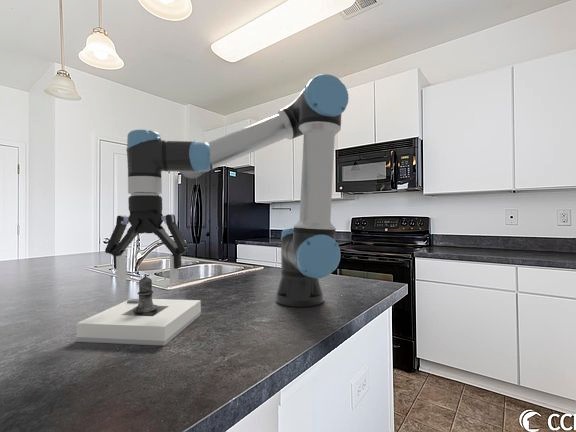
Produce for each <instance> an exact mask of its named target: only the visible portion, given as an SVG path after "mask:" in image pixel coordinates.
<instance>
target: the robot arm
mask: <svg viewBox="0 0 576 432" xmlns="http://www.w3.org/2000/svg"><path fill="white" fill-rule="evenodd" d="M348 104H349V92H348V89H347V87H346V85H345V84H344V83H343V82H342V80H341V79H339V78H338V77H336V76H334V75H332V74H329V73H321V74H317V75H316V76H313V78H311V79H310V80H309V81H307V83H306V84H305V86H304V88H303V89H302V91H301V92H300V94H299V95H298V96H297V98H295V100H293V102H291V103H290V104H288V105H287V106H285V107H284V108H281V109H279V110H278V111H277V113H276V114H275V115H273V116H271V117H267V118H265V119H263V120H260V121H258V122H256V123H253V124H251V125H248V126H245V127H243V128H241V129H237V130H236V131H233V132H231V133H228V134H226V135H223V136H220V137H219V138H216V139H214V140H211V141H209V142H205V141H204V142H203V141H197V140H193V141H191V140H190V141H187V140H186V141H183V140H182V141H180V140H179V141H178V140H164V139H162V138H161V134H160V132H157V131H155V130H147V129H133V130H131V131H129V132H128V133H127V140H126V143H127V144H126V146H127V147H126V157H127V158H126V159H127V193H128V194H130V195H129V197H128V198H127V199H128V210H129V216H127V215H117V216H116V223H115V226H114V229H113V232H112V234H111V235H110V238H109V240H108V242H107V245H106V247H105V250H104V252H105V254H109V255H111V256H112V257H113V260H112V261H113V269H115V270H116V284H121V283H124V282H127V280H128V279H127V255H126V254H125V253H124V252H125V251H126V250H127V248H128V247H129V246H130V244H131V243H132V242H133V240H134V239H135V238H136V237H137V235H139V234H154V235H155V236H157V237H158V239H159V240H160V241H161V242H162V243H163V244H164V246H165V247H166V248H167V249H168V250H169V252H170V253H171V255H169V257H168V258H169V283H170V284H175V283H176V282H178V281H179V269H181V267H182V254H184V253H186V252H188V251H189V246H188V244H187V242H186V240H185V238H184V236H183V235H182V233H181V231H180V228H179V226H178V225H177V223H176V216H175V214H166V215H164V214H163V197H162V196H160V195H161V194H162V193H163V189H162V188H163V187H162V173H163V172H179V173H180V175H182V177H184V178H187V179H196V178H200V177H201V176H202V175H203V174H205V173H207V172H209V171H211V170H214V169H216V168H218V167H221V166H223V165H225V164H228V163H230V162H233V161H235V160H237V159H239V158H242V157H244V156H246V155H249V154H251V153H254V152H256V151H259V150H261V149H263V148H265V147H268V146H270V145H273V144H275V143H277V142H280V141H283V140H284V139H287V140H290V141H291V140H294V139H295V138H298V137H301V136H303V142H302V145H303V146H302V160H301V161H302V162H301V163H302V164H301V165H302V166H301V184H300V200H299V204H300V206H299V220H298V221H297V222H296V223H295V224H294V225H293V227H289V228H285V229H282V231H281V236H280V245H281V250H280V251H281V252H280V254H281V255H280V256H281V257H280V260H281V261H280V263H281V264H280V265H281V266H280V267H281V271H280V272H281V273H280V275H281V276H280V278H279V282H278V286H277V288H276V289H277V290H276V292H275V301H276V303H277V304H280V305H282V306H287V307H294V308H296V307H297V308H299V307H300V308H306V307H307V308H308V307H314V306H317V305H320V304H322V303H323V302H324V292H323V289H322V286H321V283H320V280H319V279H323V278H325V277H328V276H330V275H331V274H332V273H333V272H334V271H336V269H337V268H338V266H339V264H340V261H341V255H342V254H341V248H340V246H339V243H338V242H337V241H336V227H335V226H334V224H333V223H332V222H331V220H332V219H331V216H332V195H333V177H334V176H333V174H334V158H335V157H334V156H335V155H334V154H335V137H336V135H337V134H338V133H339V132H340V131H341V127H342V126H341V125H342V114H343V113H344V112H345V110H346V108H347V106H348ZM163 222H164V224H166V227H167V228H168V231H169V232H170V234H171V236H170V235H169V234H168V233H167V231H166V229H165V228H164V226H162V224H163ZM128 224H129V225H130V226H129V228H128V229H127V231H126V228H127V225H128ZM125 231H126V233H125ZM124 233H125V235H124ZM123 235H124V236H123ZM171 237H172V238H173V239H172V238H171Z"/></svg>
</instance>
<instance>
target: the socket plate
mask: <svg viewBox="0 0 576 432" xmlns="http://www.w3.org/2000/svg"><path fill="white" fill-rule="evenodd" d="M152 302H153V304H154V305H157V306H158V309H157V312H156V314H155V315H154V316H135V315H134V312H133V311H132V309H133V308H134V307H137V306H138V303H139V298H135V297H133V298H130V299H128V300H125V301H123V302H121V303H118V304H116V305H114V306H112V307H109V308H108V309H105V310H103V311H100V312H99V313H96V314H94V315H91V316H89V317H87V318H84V319H83V320H81V321H79V322H77V323H76V342H77V343H78V342H80V343H81V342H82V343H97V344H98V343H100V344H121V345H140V346H141V345H143V346H146V345H147V346H166V345H168V343H169V342H171V341H173V339H174V338H176V336H178V335H179V334H180V333H181V332H182V331H184V330H185V329H186V328H187V327H188V326H190V325H191V324H192V323H193V322H194V321H196V320H197V318H199V317H200V316H201V314H202V309H201V308H202V306H201V305H202V300H201V299H200V300H199V299H197V300H196V299H166V298H161V299H160V298H159V299H158V298H152Z"/></svg>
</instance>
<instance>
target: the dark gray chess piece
mask: <svg viewBox="0 0 576 432" xmlns="http://www.w3.org/2000/svg"><path fill="white" fill-rule="evenodd" d="M152 282H153V281H152V279H151V277H148V276H147V274H146V273H144V275H143V277H142V278H140V279H139V281H138V292H137V295H138V299H139V303H138V306H137V307H134V308H133V309H132V311H133V312H134V315H135V316H154V315H155V314H156V312H157V309H158V306H157V305H154V304H153V302H152V299H153V294H154V291H153V283H152Z"/></svg>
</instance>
